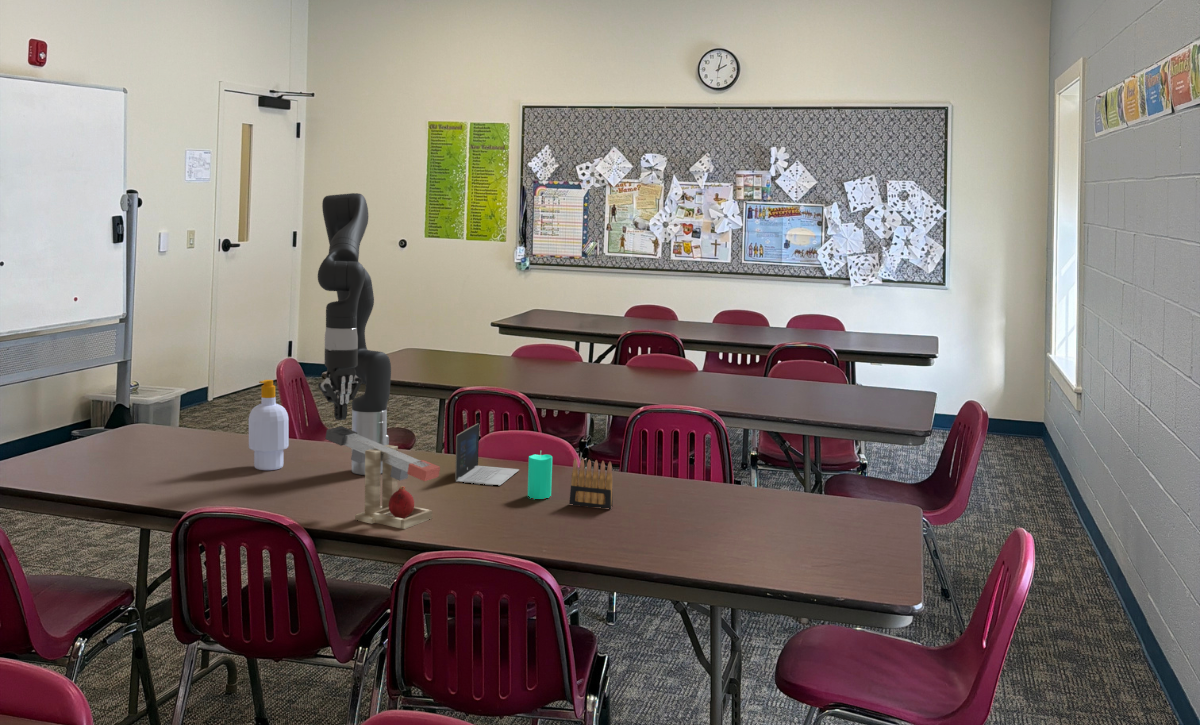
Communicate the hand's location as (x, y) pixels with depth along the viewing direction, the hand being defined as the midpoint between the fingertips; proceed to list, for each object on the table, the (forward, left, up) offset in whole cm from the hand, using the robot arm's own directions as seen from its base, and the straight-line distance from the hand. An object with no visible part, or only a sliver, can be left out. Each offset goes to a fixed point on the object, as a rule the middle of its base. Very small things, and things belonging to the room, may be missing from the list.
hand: (340, 419), depth 237 cm
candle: (-36, +34, -22) cm, 54 cm away
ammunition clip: (-36, +49, -22) cm, 64 cm away
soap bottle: (-17, -41, -22) cm, 50 cm away
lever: (0, +12, -10) cm, 16 cm away
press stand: (0, +17, -21) cm, 27 cm away
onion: (0, +19, -22) cm, 28 cm away
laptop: (-45, +12, -22) cm, 51 cm away
